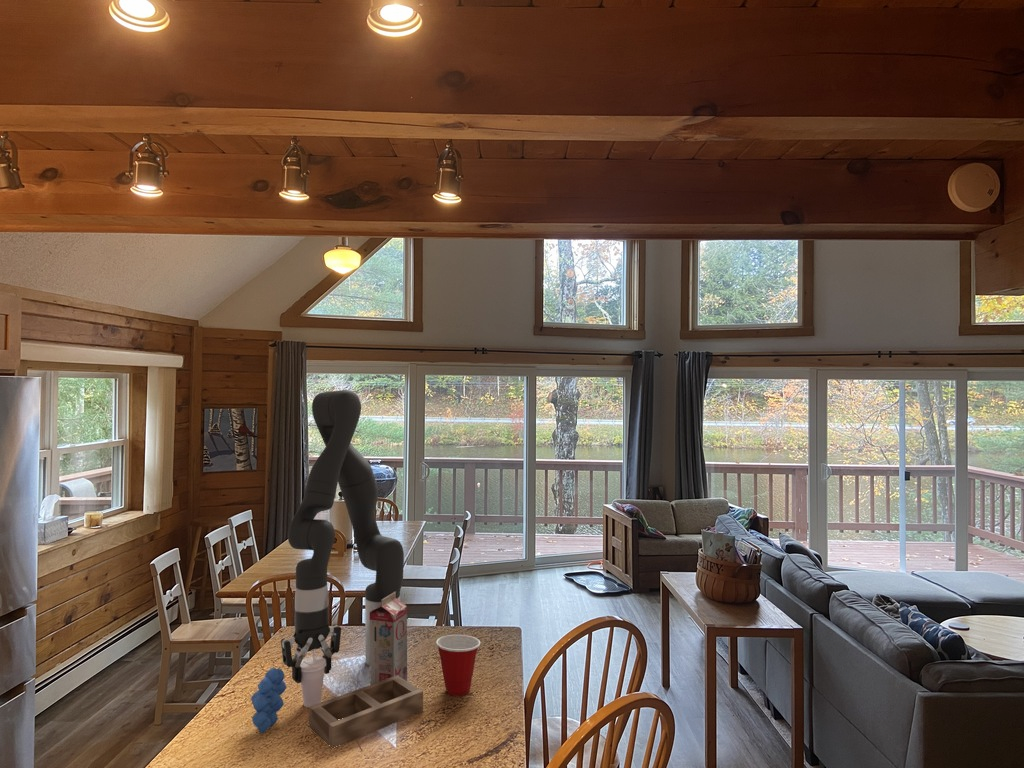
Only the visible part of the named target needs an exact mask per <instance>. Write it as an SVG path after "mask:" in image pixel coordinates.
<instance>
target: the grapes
mask: <svg viewBox="0 0 1024 768" xmlns="http://www.w3.org/2000/svg"><path fill="white" fill-rule="evenodd" d="M285 677H286V676H285V673H284V671H283V669H281V668H277V667H272V668H269V669H268V670H267V672H266V673H265V675H264V678H262V679H261V680H260V682H259V683H258V684H257V688H258V690H256V691H255V692H254V693H253V694H252V696H251V697H250V701H251V703H252V706H253V709H254V710H255V711H256V712H255V713H254V714H253V715H252V717H251V720H252V723H253V725H254V726H255V727H256V729H257V731H258V732H259V733H260V734H264V733H266V732H267V731H268V729H270V728H271V727H272V726H274V725H275V723H276V722H277V721H278V720H279V718H278V714H277V712H279V711H280V710H281V709H282V708H283V706H284V705H285V703H284V699H283V697H281V696H282V695H283V693H284V692H285V691H286V689H287V684H286V682H285V681H284V679H285Z"/></svg>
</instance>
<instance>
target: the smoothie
mask: <svg viewBox="0 0 1024 768" xmlns="http://www.w3.org/2000/svg"><path fill="white" fill-rule="evenodd" d="M300 666H301V683H300V685H301V691H302V692H301V694H302V700H303V706H304V707H305V706H306V707H305V708H307V707H310V706H313V705H316V704H318V703H321V702H322V696H323V695H322V694H323V686H324V678H325V673H324V669H325V666H326V659H325V658H323V657H322V656H316V649H313V650H312V656H310V657H306V658H305V657H304V658H303V660H302V662H301V664H300Z"/></svg>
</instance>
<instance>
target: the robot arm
mask: <svg viewBox="0 0 1024 768" xmlns="http://www.w3.org/2000/svg"><path fill="white" fill-rule="evenodd" d="M311 412H312V417H313V420H314V423H315V426H316V428H317V430H318V433H319V434H320V436H321V439H322V441H323V443H324V445H325V447H324V448H323V450H322V452H321V453H320V454H319V456H318V457H317V459H316V460H315V462H314V463H313V465H312V467H311V469H310V471H309V474H308V477H307V481H306V485H305V486H306V487H305V490H304V496H303V498H302V501H301V503H300V505H299V507H298V508H297V510H296V513H294V516H293V517H292V520H291V522H290V524H289V527H288V531H287V540H288V541H287V542H288V544H289V545H290V546H291V547H292V548H293V549H296V550H304V551H305V550H307V551H313V552H312V556H311V558H305V559H301V560H300V561H299V562H298V563H296V566H295V593H294V633H293V635H292V636H291V637H289V638H285V637H283V638H281V640H280V647H281V655H282V662H283V664H284V665H286V666H287V667H288V668H291V679H292V680H293V681H294V682H295V683H296V684H301V666H300V664H301V662H302V660H303V659H305V657H306V656H307V653H309V652H312V651H313V649H315V650H318V649H320V651H321V652H322V654H323V655H322V656H321V657H323V658H325V659H326V666H325V669H324V675H328V674H330V671H331V670H332V656H333V655H334V654H335V653H336V654H337V653H339V651H340V647H341V646H340V645H341V637H342V636H341V635H342V627H341V626H339V625H337V624H336V623H334V624H332V625H331V626H329V622H330V620H329V617H330V616H329V610H330V609H329V601H330V597H329V589H328V566H329V561H330V557H331V556H330V555H331V552H332V549H333V545H334V544H335V543H334V542H335V538H336V532H335V531H336V530H335V528H334V525H333V523H332V522H330V521H329V520H327V519H315V518H316V516H317V514H319V513H321V512H325V511H328V510H331V509H332V508H333V505H334V503H335V497H336V493H337V488H338V486H339V489H340V492H341V496H342V499H343V500H344V501H343V502H344V504H345V507H346V510H347V514H348V516H349V517H348V518H349V521H350V523H351V526H352V530H353V536H354V540H355V546H356V550H357V555H358V558H359V561H360V563H361V565H363V567H364V568H366V569H367V570H370V571H374V572H375V582H372V583H370V584H368V585H367V586H366V588H365V590H364V591H365V593H364V595H365V596H364V598H365V599H364V602H365V604H364V605H365V610H364V612H365V614H364V616H365V626H364V628H365V656H364V657H365V665H367V666H368V665H369V666H368V667H370V612H371V611H372V610H374V609H376V608H377V607H379V606H380V605H381V600H382V599H384V598H385V597H387V596H389V595H390V594H392V593H394V592H396V599H398V600H399V601H401V589H402V587H403V582H404V567H405V566H404V564H405V554H404V553H405V552H404V547H403V545H402V543H401V542H400V540H398V539H397V538H392V537H387V536H383V535H382V533H381V532H380V530H379V526H378V523H377V520H376V507H377V503H378V499H379V498H378V497H379V489H378V484H377V480H376V477H375V474H374V471H373V468H372V466H371V464H370V463H369V461H368V460H367V459H366V457H364V455H362V453H360V451H359V450H357V448H356V447H355V446H354V445H353V443H351V442H352V440H353V437H354V434H355V431H356V429H357V426H358V423H359V421H360V419H361V418H360V417H361V414H362V403H361V399H360V397H359V395H358V394H357V393H356V392H355V391H353V390H350V389H339V390H331V391H324V392H320V393H318V394H316V395H315V396H314V398H313V400H312V405H311ZM329 634H330V646H329V644H328V643H327V641H326V639H327V638H328V636H329ZM294 643H295V644H296V646H295V649H294V652H293V653H294V654H292V648H293V647H294Z"/></svg>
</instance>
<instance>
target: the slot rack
mask: <svg viewBox="0 0 1024 768" xmlns="http://www.w3.org/2000/svg"><path fill="white" fill-rule="evenodd" d="M422 712H424V690H422V689H420V688H419V687H417V686H416V685H414V684H413V683H411V682H410V681H408V680H407V681H406V680H404V679H403V678H401V677H399V676H398V675H396V676H393V677H391V678H388V679H385V680H382V681H379V682H377V683H374V684H371V685H370V684H369V685H365V686H363V687H361V688H357V689H355V690H352V691H350V692H349V691H348V692H347V693H344V694H341V695H338V696H335V697H333V698H330V699H327V700H325V701H324V700H323V701H321V703H318V704H316V705H313V706H310V707H309V708H308V719H309V720H308V722H309V723H308V727H310V728H311V729H312V730H313V731H314V732H315V733H316V735H317V736H318V738H319V739H321V740H322V741H323V742H324V741H325V742H326V743H327V744H328V745H330V746H331V747H332V748H334V747H336V746H339V745H341V746H343V744H344V745H346V744H348V743H350V742H353V741H355V740H358V739H359V738H363V737H364V736H367V735H369V734H372V733H374V732H377V731H379V730H381V729H384V728H386V727H388V726H391V725H393V724H396V723H398V722H401V721H403V720H405V719H408V718H410V717H413V716H415V715H417V714H420V713H422ZM342 718H343V719H342ZM338 719H340V720H338ZM310 728H309V729H310ZM311 729H310V730H311ZM312 730H311V731H312ZM313 731H312V732H313ZM314 732H313V733H314ZM315 733H314V734H315ZM325 742H324V743H325ZM326 743H325V744H326ZM345 743H346V744H345ZM327 744H326V745H327ZM328 745H327V746H328ZM330 746H329V747H330ZM331 747H330V748H331ZM339 747H340V746H339ZM332 748H331V749H332ZM336 748H337V747H336ZM334 749H335V748H334Z"/></svg>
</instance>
